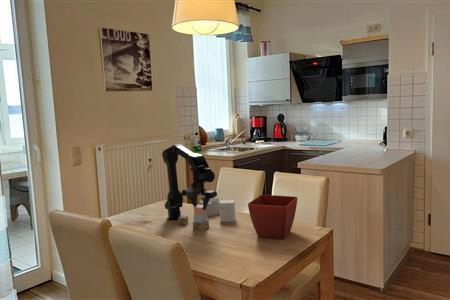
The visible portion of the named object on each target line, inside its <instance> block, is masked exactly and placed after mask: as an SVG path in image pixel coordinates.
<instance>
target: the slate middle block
mask: <svg viewBox="0 0 450 300" xmlns="http://www.w3.org/2000/svg"><path fill="white" fill-rule="evenodd" d="M192 217H193V222H197V223H203V222H205V221H207V220H208V216H207V213H205V214H203V215H195V214H194V213H193V215H192Z"/></svg>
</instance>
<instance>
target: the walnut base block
mask: <svg viewBox="0 0 450 300" xmlns="http://www.w3.org/2000/svg"><path fill="white" fill-rule="evenodd" d="M208 228H210V220H209V219H207V221H205V222H203V223H197V222H194V221H192V229H193V230H195V231H201V232H203V231H206V229H208Z"/></svg>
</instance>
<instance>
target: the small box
mask: <svg viewBox="0 0 450 300" xmlns="http://www.w3.org/2000/svg"><path fill="white" fill-rule="evenodd" d="M235 205H236V204H235V200H234V199H231V200H230V199H229V200H222V201H220V203H219V206H220V214H219V220H220V222H222V223H224V222H227V223H229V222H235V221H236V207H235Z"/></svg>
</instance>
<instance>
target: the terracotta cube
mask: <svg viewBox="0 0 450 300" xmlns="http://www.w3.org/2000/svg"><path fill="white" fill-rule="evenodd" d="M205 213H206V210H204V208H203V205H200V204H197V206H195V207H194V206H193V214H195V215H203V214H205Z"/></svg>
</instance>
